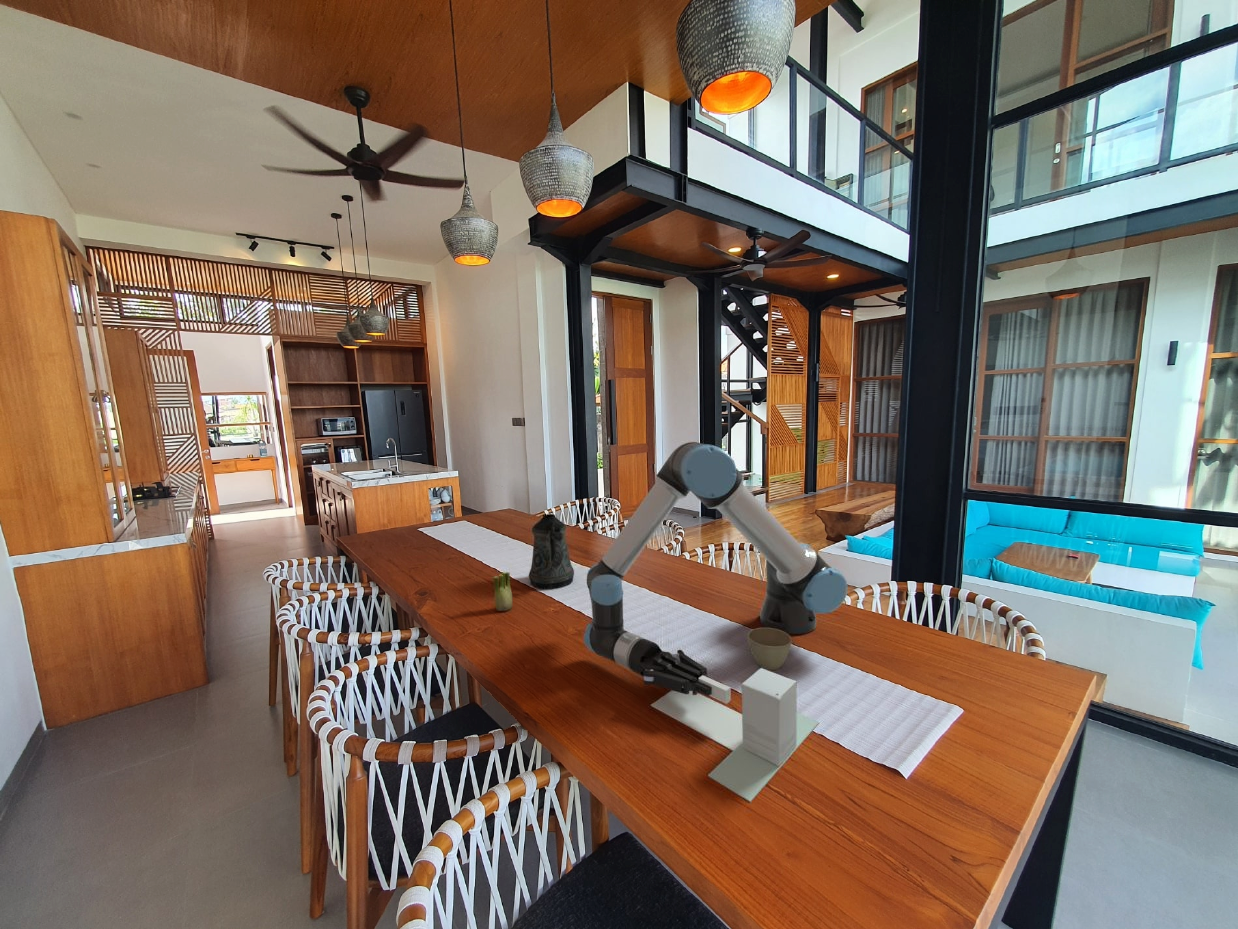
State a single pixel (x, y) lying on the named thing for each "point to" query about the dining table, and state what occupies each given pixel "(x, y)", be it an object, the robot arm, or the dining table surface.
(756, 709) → the supplement box
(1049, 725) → the dining table surface
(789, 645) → the flower pot
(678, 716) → the t mat
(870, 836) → the dining table surface
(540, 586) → the beer stein
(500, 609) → the fennel bulb
